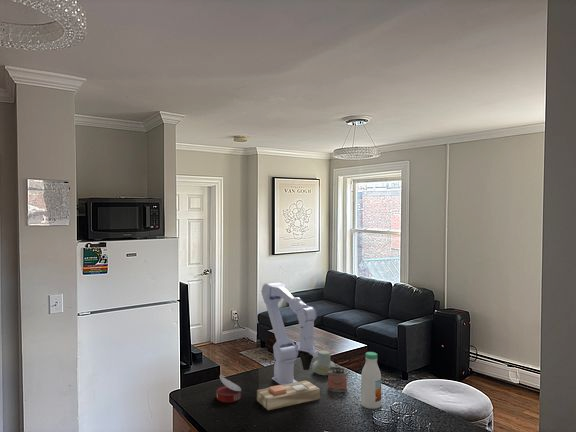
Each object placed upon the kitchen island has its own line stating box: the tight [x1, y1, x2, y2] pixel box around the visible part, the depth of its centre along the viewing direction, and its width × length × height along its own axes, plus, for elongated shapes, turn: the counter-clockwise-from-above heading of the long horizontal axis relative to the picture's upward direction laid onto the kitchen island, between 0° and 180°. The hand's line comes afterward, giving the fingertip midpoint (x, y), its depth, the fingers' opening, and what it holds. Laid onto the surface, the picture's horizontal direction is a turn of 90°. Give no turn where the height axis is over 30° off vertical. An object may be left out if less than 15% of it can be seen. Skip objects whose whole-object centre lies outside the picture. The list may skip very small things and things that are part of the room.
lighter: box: [327, 365, 348, 393], centre depth 178 cm, size 8×3×10 cm, turn 84°
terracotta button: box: [268, 384, 286, 396], centre depth 165 cm, size 5×5×3 cm
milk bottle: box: [360, 351, 382, 410], centre depth 164 cm, size 8×8×20 cm
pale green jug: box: [311, 349, 337, 377], centre depth 198 cm, size 11×8×10 cm
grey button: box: [291, 384, 308, 391], centre depth 170 cm, size 5×5×3 cm
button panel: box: [256, 379, 321, 411], centre depth 168 cm, size 10×23×4 cm, turn 119°
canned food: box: [216, 374, 242, 403], centre depth 169 cm, size 11×10×10 cm
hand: (306, 369), depth 175 cm, fingers closed
